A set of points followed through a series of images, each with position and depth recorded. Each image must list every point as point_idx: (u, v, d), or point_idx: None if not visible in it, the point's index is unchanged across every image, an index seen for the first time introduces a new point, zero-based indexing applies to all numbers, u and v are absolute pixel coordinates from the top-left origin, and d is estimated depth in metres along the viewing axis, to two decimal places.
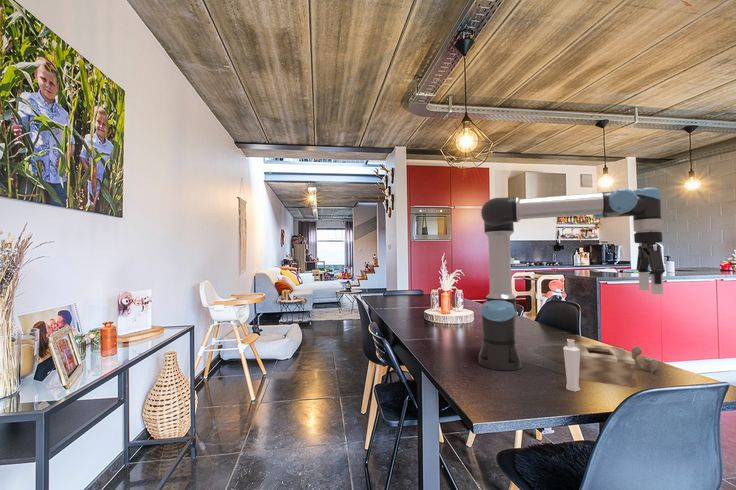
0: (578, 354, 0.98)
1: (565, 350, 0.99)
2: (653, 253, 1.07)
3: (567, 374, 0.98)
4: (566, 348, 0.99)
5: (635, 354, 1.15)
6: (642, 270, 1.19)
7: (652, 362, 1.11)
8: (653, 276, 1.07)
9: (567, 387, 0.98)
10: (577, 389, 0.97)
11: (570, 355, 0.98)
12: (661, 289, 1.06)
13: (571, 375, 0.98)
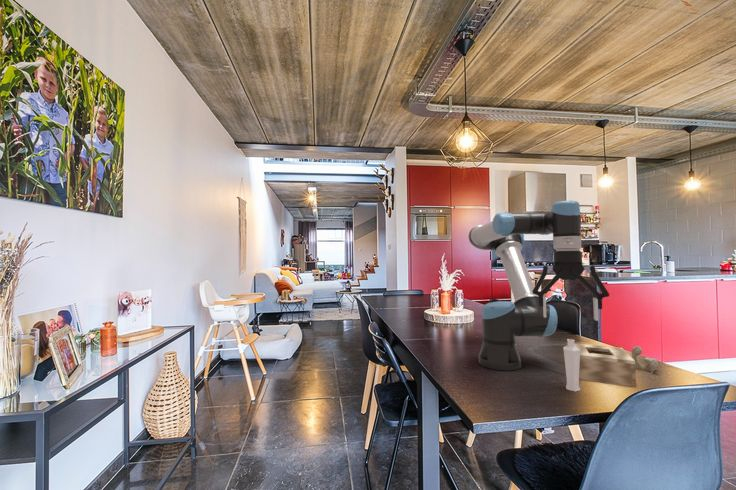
0: (578, 354, 0.98)
1: (565, 350, 0.99)
2: (541, 274, 1.04)
3: (567, 374, 0.98)
4: (566, 348, 0.99)
5: (635, 354, 1.15)
6: None
7: (652, 362, 1.11)
8: None
9: (567, 387, 0.98)
10: (577, 389, 0.97)
11: (570, 355, 0.98)
12: (543, 312, 1.02)
13: (571, 375, 0.98)
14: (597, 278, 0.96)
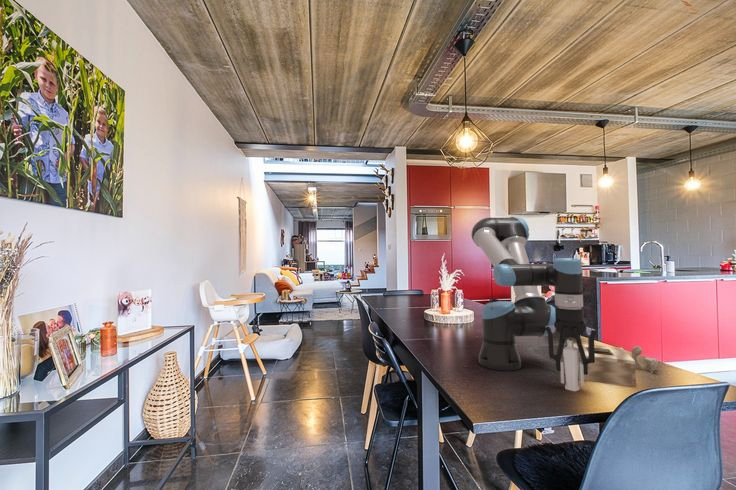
0: (577, 354, 0.98)
1: (564, 350, 0.99)
2: None
3: (566, 374, 0.99)
4: (565, 348, 0.99)
5: (635, 354, 1.15)
6: (582, 360, 0.98)
7: (652, 362, 1.11)
8: None
9: (566, 387, 0.98)
10: (576, 389, 0.97)
11: (569, 355, 0.98)
12: (561, 378, 0.99)
13: (570, 375, 0.98)
14: (592, 343, 0.96)
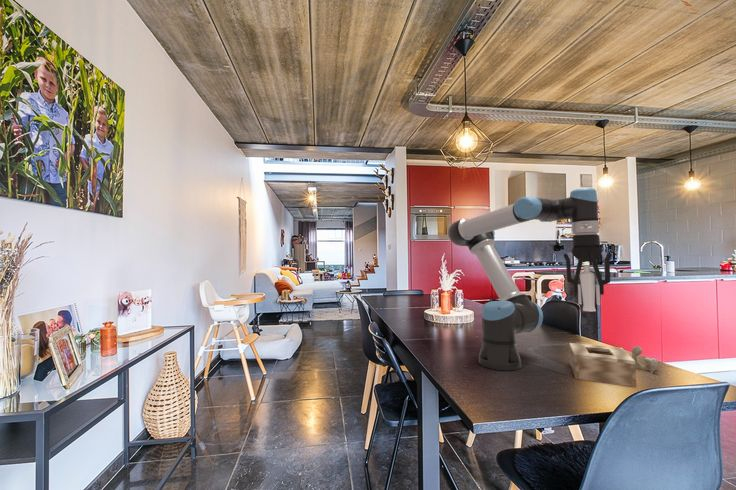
0: (594, 278, 1.05)
1: (581, 275, 1.07)
2: None
3: (583, 297, 1.06)
4: (582, 273, 1.07)
5: (635, 354, 1.15)
6: (598, 282, 1.05)
7: (652, 362, 1.11)
8: None
9: (584, 309, 1.06)
10: (593, 310, 1.05)
11: (586, 279, 1.06)
12: (578, 299, 1.07)
13: (587, 297, 1.05)
14: (608, 265, 1.03)
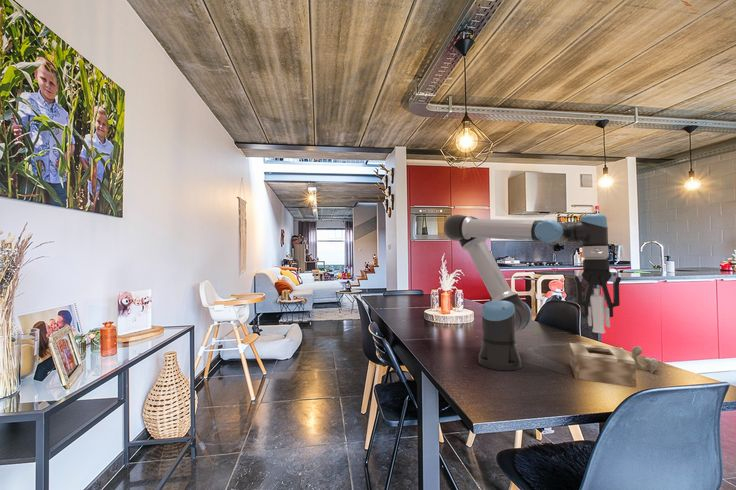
0: (603, 300, 1.10)
1: (592, 297, 1.11)
2: (576, 285, 1.15)
3: (594, 319, 1.10)
4: (593, 296, 1.11)
5: (635, 354, 1.15)
6: (608, 305, 1.10)
7: (652, 362, 1.11)
8: None
9: (594, 330, 1.10)
10: (603, 331, 1.09)
11: (596, 301, 1.10)
12: (588, 321, 1.11)
13: (597, 319, 1.10)
14: (617, 288, 1.08)
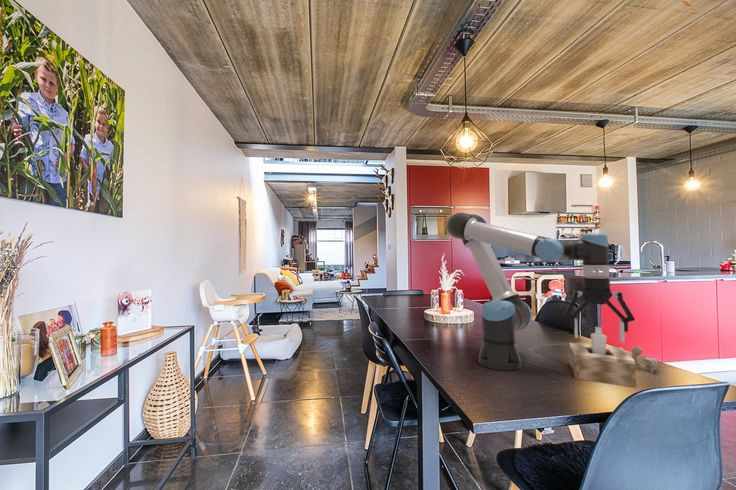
0: (605, 340, 1.10)
1: (594, 336, 1.11)
2: (572, 298, 1.15)
3: None
4: (595, 334, 1.11)
5: (635, 354, 1.15)
6: None
7: (652, 362, 1.11)
8: None
9: None
10: None
11: (598, 340, 1.10)
12: (575, 333, 1.13)
13: None
14: (624, 304, 1.07)
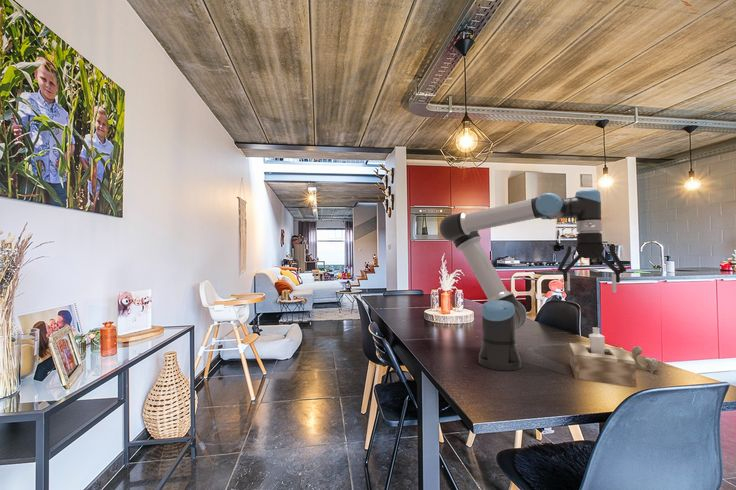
0: (603, 340, 1.10)
1: (592, 337, 1.10)
2: None
3: None
4: (593, 335, 1.10)
5: (635, 354, 1.15)
6: (614, 271, 1.12)
7: (652, 362, 1.11)
8: None
9: None
10: None
11: (597, 341, 1.09)
12: (567, 286, 1.18)
13: None
14: (615, 256, 1.11)
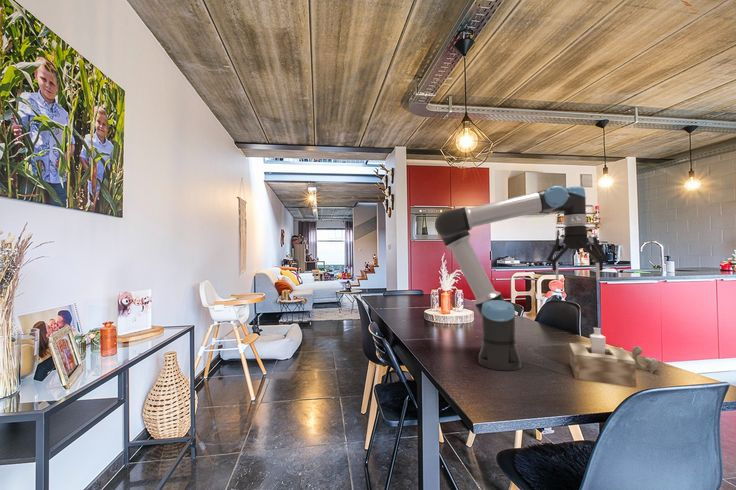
0: (604, 341, 1.09)
1: (593, 338, 1.10)
2: (554, 245, 1.31)
3: None
4: (594, 336, 1.10)
5: (635, 354, 1.15)
6: (598, 260, 1.24)
7: (652, 362, 1.11)
8: None
9: None
10: None
11: (597, 342, 1.09)
12: (556, 275, 1.29)
13: None
14: (599, 246, 1.23)
